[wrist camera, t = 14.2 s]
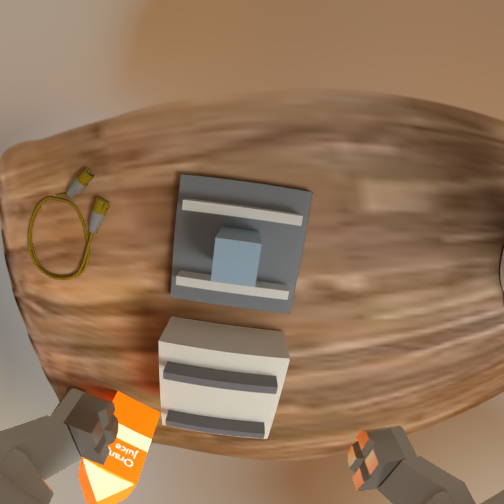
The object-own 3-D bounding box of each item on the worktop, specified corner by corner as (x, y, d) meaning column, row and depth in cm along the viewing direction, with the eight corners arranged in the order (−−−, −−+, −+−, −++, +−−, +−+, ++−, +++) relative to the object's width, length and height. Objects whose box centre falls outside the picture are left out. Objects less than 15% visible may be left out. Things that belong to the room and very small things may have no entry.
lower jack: (310, 191, 31) (316, 193, 28) (288, 309, 34) (292, 321, 31) (183, 174, 30) (176, 173, 27) (172, 294, 34) (166, 304, 31)
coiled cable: (131, 257, 33) (124, 261, 31) (47, 286, 34) (40, 291, 32) (101, 162, 30) (93, 162, 28) (21, 208, 31) (12, 210, 29)
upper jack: (284, 331, 35) (292, 369, 27) (265, 409, 38) (268, 449, 31) (171, 316, 34) (153, 350, 27) (171, 396, 38) (159, 435, 30)
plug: (259, 231, 31) (261, 243, 25) (254, 267, 32) (255, 287, 26) (222, 226, 31) (215, 237, 25) (217, 262, 32) (210, 281, 26)
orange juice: (161, 412, 39) (128, 516, 19) (146, 437, 41) (117, 527, 21) (116, 390, 38) (66, 486, 18) (107, 417, 40) (65, 502, 20)
